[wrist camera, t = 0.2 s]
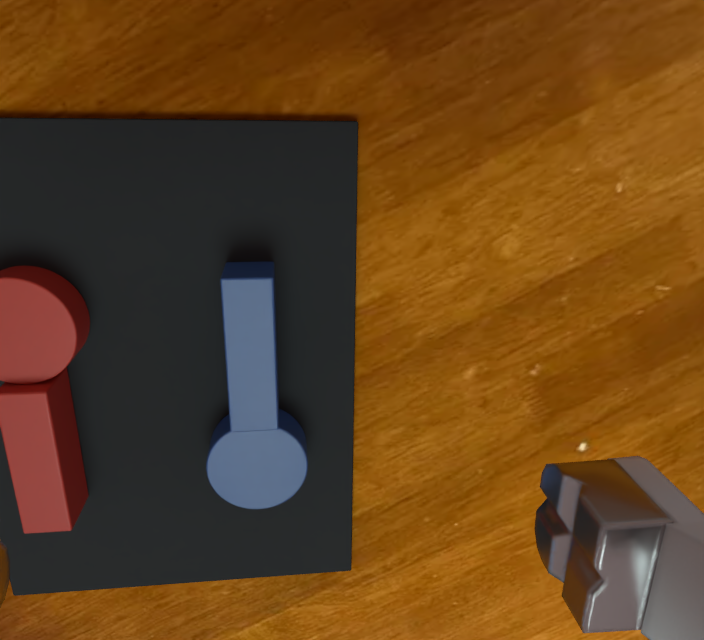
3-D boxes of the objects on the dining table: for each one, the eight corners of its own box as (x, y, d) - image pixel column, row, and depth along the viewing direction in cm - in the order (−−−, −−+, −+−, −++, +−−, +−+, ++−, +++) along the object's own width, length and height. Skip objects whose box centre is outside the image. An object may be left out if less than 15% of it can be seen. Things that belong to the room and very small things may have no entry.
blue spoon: (195, 262, 22) (186, 278, 20) (303, 260, 22) (305, 276, 20) (213, 488, 25) (207, 523, 23) (307, 483, 26) (309, 516, 24)
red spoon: (116, 494, 25) (102, 529, 23) (16, 500, 24) (-8, 536, 22) (82, 264, 21) (61, 281, 19) (-36, 265, 21) (-70, 283, 19)
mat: (-94, 116, 20) (-102, 117, 19) (356, 121, 21) (358, 121, 21) (16, 589, 26) (13, 596, 26) (350, 564, 28) (351, 570, 28)
